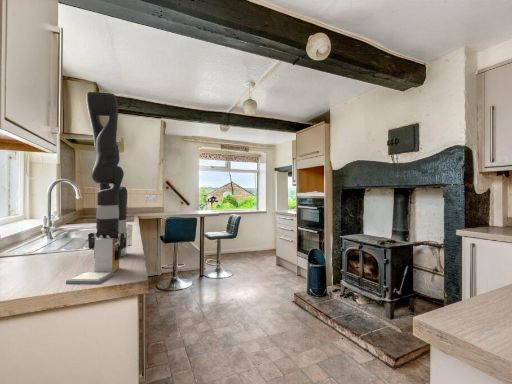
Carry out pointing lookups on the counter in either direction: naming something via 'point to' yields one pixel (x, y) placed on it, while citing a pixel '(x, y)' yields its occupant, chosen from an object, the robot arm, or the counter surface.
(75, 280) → the board
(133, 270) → the counter surface
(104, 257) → the small box
